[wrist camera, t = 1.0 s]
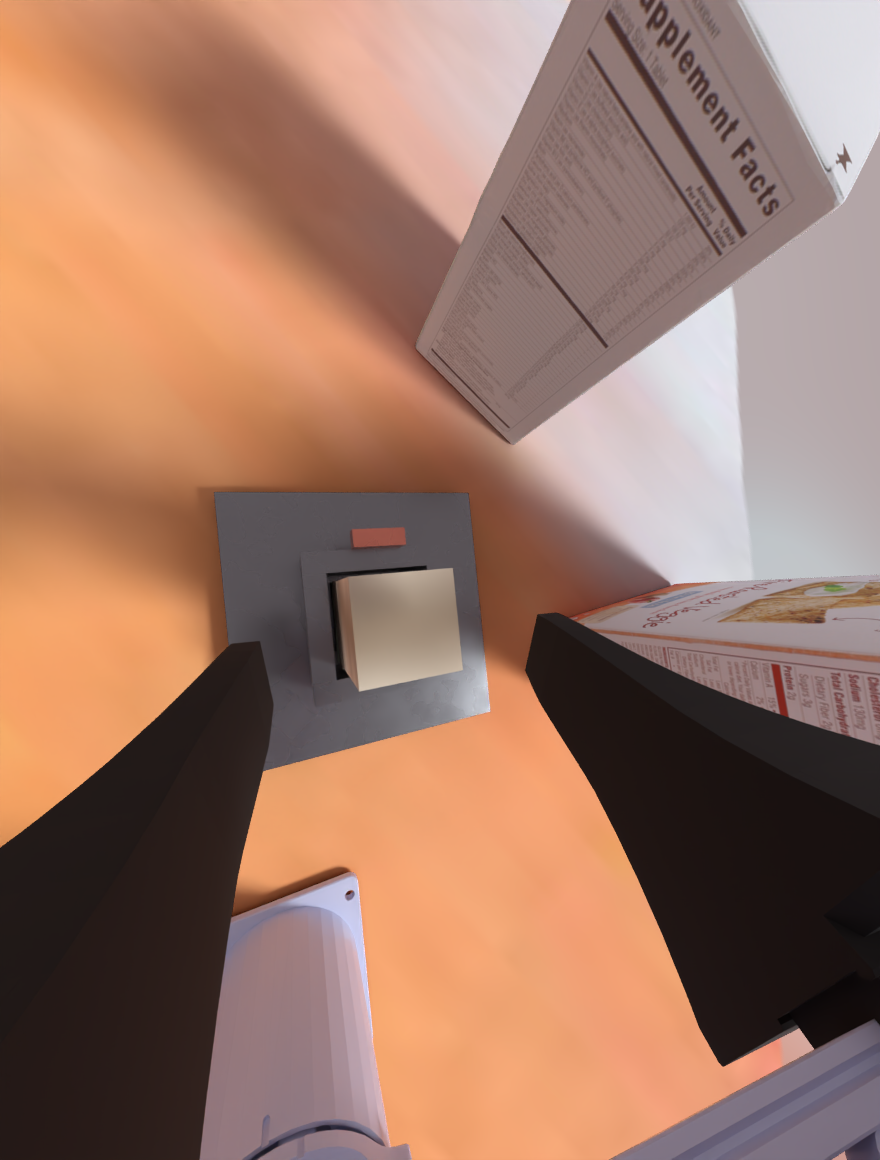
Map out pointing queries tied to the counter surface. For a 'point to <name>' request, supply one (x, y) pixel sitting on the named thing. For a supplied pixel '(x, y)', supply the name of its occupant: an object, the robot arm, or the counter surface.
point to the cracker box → (766, 644)
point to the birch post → (396, 626)
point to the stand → (305, 616)
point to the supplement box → (649, 186)
